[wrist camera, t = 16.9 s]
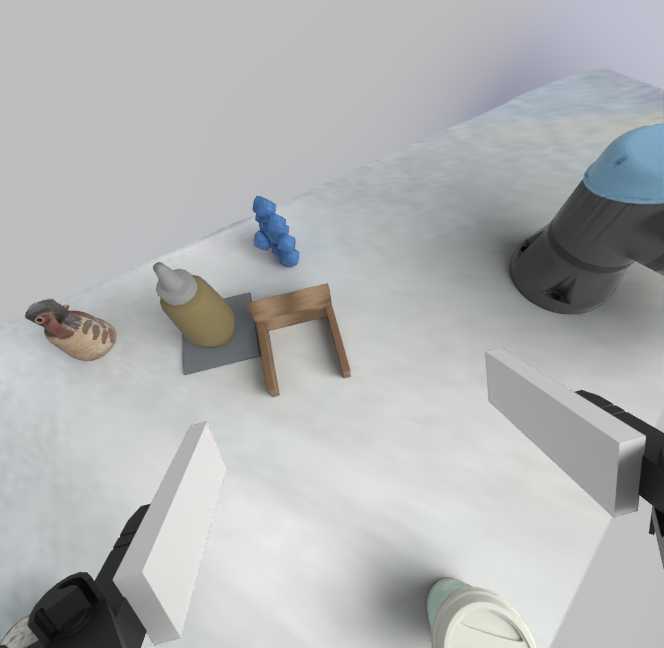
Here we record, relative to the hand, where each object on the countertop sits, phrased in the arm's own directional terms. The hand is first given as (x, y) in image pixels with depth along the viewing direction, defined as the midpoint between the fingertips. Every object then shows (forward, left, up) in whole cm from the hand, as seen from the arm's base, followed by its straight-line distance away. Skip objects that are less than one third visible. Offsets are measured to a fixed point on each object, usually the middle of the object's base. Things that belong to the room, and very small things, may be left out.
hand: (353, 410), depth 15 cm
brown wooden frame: (+4, -17, -32) cm, 37 cm away
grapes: (+5, -37, -33) cm, 49 cm away
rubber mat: (+17, -24, -32) cm, 44 cm away
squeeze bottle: (+17, -24, -32) cm, 44 cm away
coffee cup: (-6, +18, -33) cm, 38 cm away
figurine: (+38, -28, -33) cm, 58 cm away
